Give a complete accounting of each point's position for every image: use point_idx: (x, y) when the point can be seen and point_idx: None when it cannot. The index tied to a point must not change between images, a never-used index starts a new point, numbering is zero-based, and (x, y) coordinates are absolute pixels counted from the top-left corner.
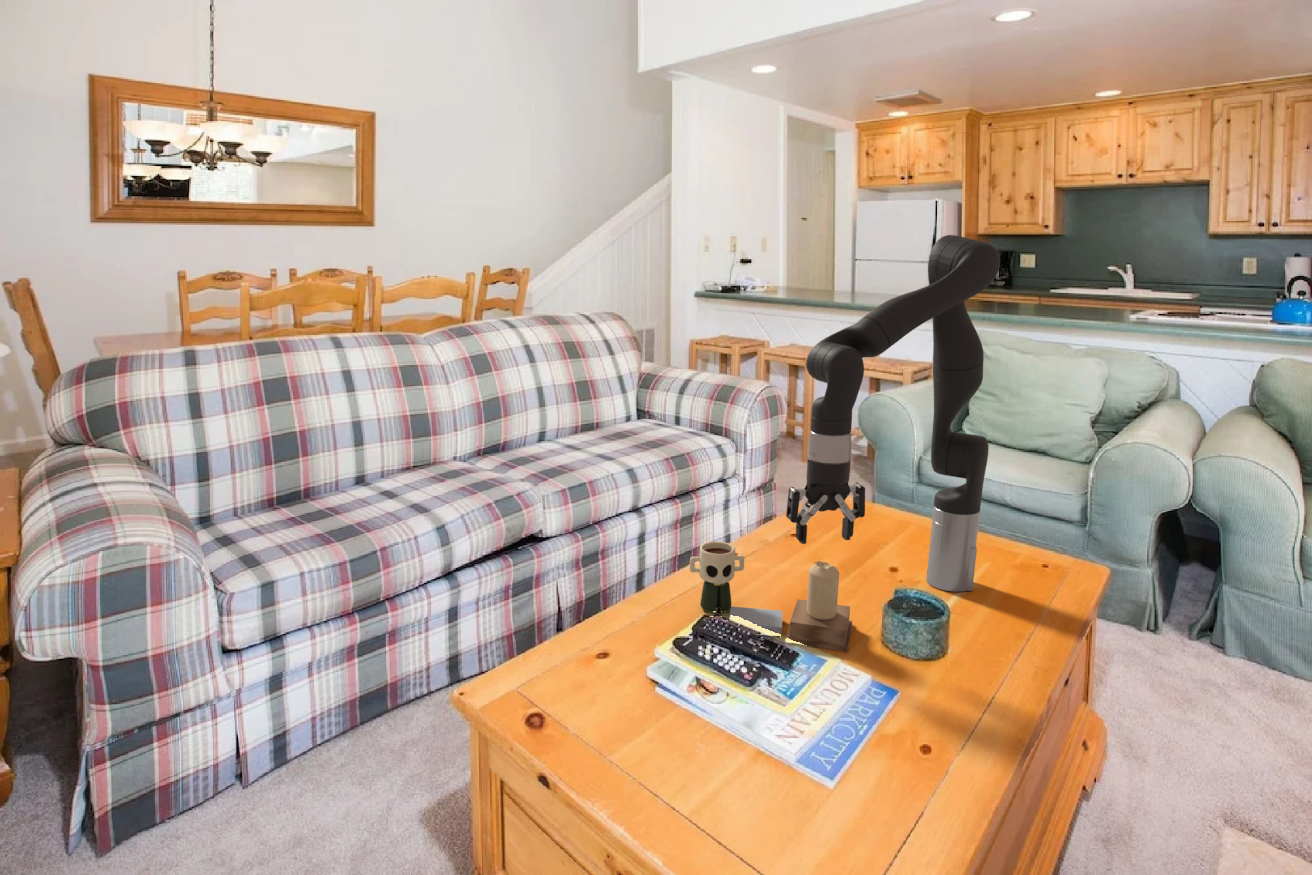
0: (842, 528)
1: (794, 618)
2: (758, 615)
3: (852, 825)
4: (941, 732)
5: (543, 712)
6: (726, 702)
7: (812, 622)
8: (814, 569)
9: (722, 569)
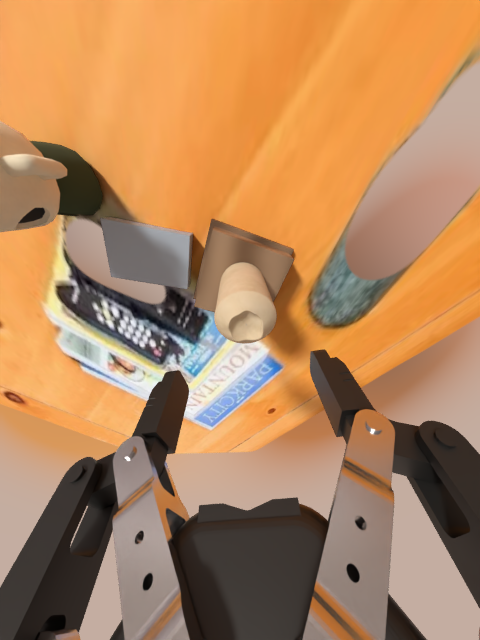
0: (321, 373)
1: (201, 297)
2: (152, 253)
3: (216, 442)
4: (289, 400)
5: (12, 391)
6: (145, 380)
7: None
8: (223, 330)
9: (15, 229)
